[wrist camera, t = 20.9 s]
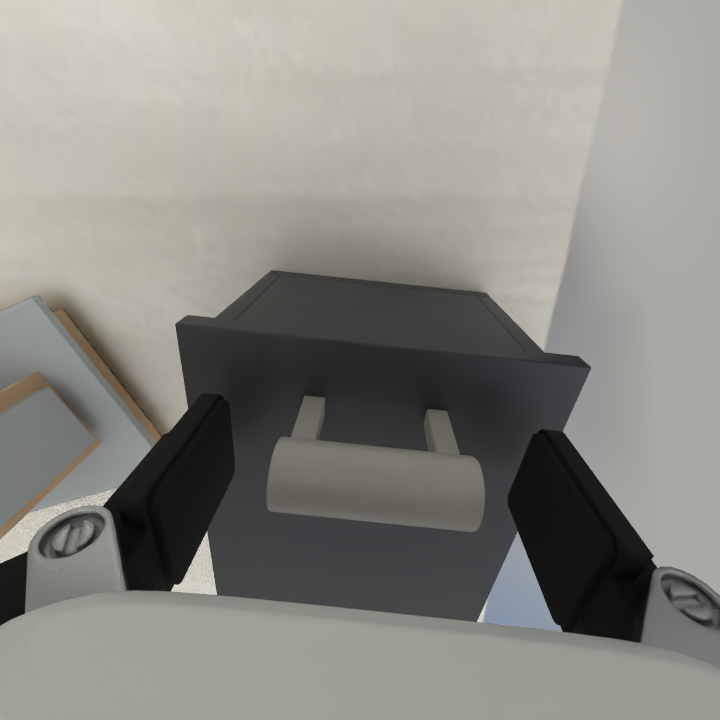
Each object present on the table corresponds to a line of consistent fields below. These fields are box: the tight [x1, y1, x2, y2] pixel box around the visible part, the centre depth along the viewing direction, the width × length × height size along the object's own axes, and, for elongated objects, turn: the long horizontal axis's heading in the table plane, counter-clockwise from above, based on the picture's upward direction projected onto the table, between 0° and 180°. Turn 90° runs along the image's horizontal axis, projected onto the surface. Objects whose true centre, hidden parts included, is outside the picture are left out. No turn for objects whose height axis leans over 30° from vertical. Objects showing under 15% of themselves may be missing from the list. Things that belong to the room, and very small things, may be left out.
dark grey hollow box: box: [215, 270, 544, 353], centre depth 19 cm, size 14×13×10 cm
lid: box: [175, 315, 591, 622], centre depth 12 cm, size 14×13×5 cm
